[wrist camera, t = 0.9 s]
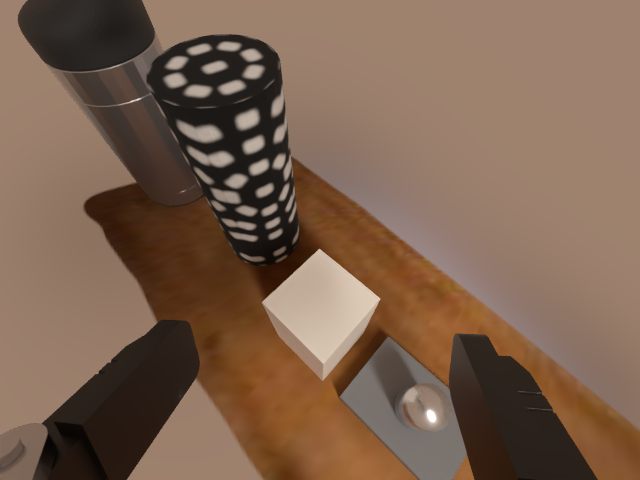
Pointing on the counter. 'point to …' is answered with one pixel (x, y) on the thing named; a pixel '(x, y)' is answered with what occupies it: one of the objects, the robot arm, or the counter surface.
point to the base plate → (384, 425)
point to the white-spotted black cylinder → (233, 137)
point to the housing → (320, 312)
